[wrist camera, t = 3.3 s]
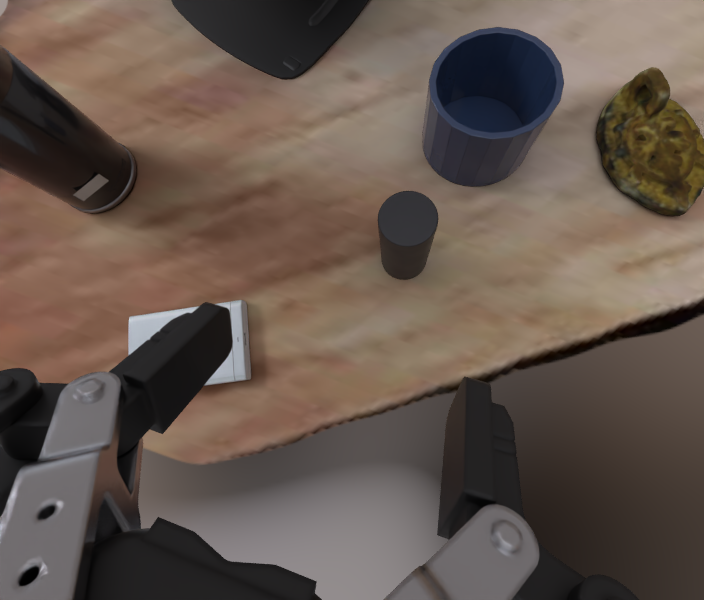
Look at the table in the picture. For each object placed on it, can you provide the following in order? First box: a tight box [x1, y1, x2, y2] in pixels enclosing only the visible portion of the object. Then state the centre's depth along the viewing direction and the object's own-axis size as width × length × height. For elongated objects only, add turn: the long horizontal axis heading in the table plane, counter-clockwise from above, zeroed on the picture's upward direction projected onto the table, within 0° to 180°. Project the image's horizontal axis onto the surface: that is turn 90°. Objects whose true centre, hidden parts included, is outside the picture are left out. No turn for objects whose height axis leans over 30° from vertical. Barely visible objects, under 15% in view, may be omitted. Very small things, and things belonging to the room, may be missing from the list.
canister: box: [378, 191, 438, 280], centre depth 32 cm, size 5×5×10 cm
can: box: [422, 27, 564, 186], centre depth 35 cm, size 11×11×8 cm
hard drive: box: [129, 300, 251, 386], centre depth 37 cm, size 2×8×12 cm
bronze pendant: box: [596, 67, 704, 216], centre depth 34 cm, size 9×5×15 cm
